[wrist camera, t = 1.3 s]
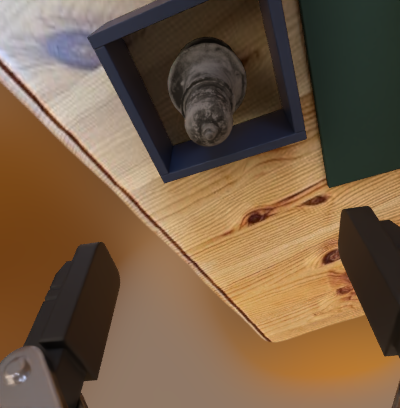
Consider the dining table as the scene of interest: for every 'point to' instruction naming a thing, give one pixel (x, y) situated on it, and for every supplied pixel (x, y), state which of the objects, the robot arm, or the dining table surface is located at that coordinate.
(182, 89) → the grey flared post
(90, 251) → the robot arm
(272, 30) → the crate
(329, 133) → the mat
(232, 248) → the dining table surface
